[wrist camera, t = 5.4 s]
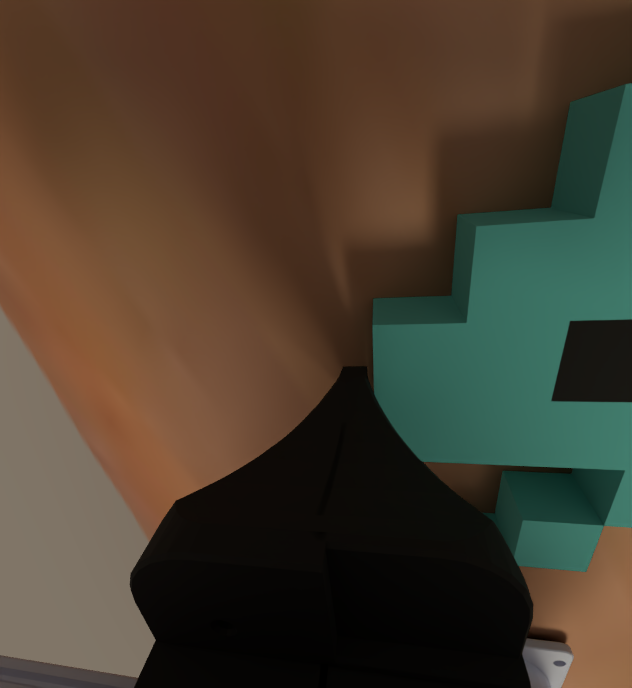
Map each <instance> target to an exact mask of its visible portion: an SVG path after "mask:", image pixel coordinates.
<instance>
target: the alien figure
mask: <svg viewBox="0 0 632 688" xmlns="http://www.w3.org/2000/svg"><path fill="white" fill-rule="evenodd" d="M372 327H373V369H374V395H375V397H376V399H377V401H378V403H379V405H380V406H381V408H382V410H383V412H384V413H385V415H386V417H387V418H388V420H389V421H390V423H391V424H392V426H393V427H394V429H395V430H396V431H397V433H398V434H399V435H400V437H401V438H402V439H403V441H404V442H405V443H406V444H407V446H408V447H409V448H410V449H411V450H412V451H413V452H414V454H415V455H416V456H417V457H418V458H419V459H420V460H421V461H422V462H441V463H465V464H488V465H511V466H534V467H558V468H573V470H572V473H571V474H565V473H543V472H522V471H502V477H501V482H500V488H499V493H498V499H497V504H496V509H495V513H483V514H484V515H486V516H487V517H488V518H490V519H491V520H492V521H494V522H495V524H496V526H497V527H498V529H499V531H500V532H501V534H502V536H503V538H504V539H505V541H506V543H507V545H508V547H509V548H510V550H511V552H512V554H513V556H514V558H515V560H516V562H517V564H518V566H525V567H537V568H548V569H559V570H570V571H582V572H586V571H587V568H588V566H589V563H590V561H591V558H592V556H593V553H594V550H595V548H596V545H597V543H598V540H599V537H600V535H601V532H602V530H603V527H604V526H615V527H629V528H632V83H630V84H625V85H621V86H618V87H615V88H612V89H609V90H606V91H603V92H600V93H597V94H594V95H591V96H588V97H584V98H581V99H578V100H575V101H572V102H570V107H569V112H568V118H567V123H566V128H565V134H564V139H563V145H562V150H561V156H560V161H559V167H558V172H557V177H556V183H555V188H554V194H553V199H552V205H551V208H539V209H525V210H512V211H498V212H484V213H471V214H458V215H457V228H456V241H455V254H454V267H453V279H452V292H451V296H425V297H398V298H373V324H372Z"/></svg>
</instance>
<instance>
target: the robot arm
mask: <svg viewBox="0 0 632 688" xmlns="http://www.w3.org/2000/svg"><path fill="white" fill-rule="evenodd" d="M130 588H131V592H132V594H133V597H134V600H135V603H136V604H137V606H138V608H139V610H140V612H141V614H142V615H143V617H144V619H145V621H146V623H147V625H148V627H149V628H150V630H151V632H152V634H153V636H154V637H155V639H156V641H155V643H154V645H153V648H152V650H151V652H150V654H149V657H148V658H147V660H146V663H145V665H144V667H143V669H142V671H141V673H140V675H139V678H135V677H129V676H123V675H117V674H111V673H104V672H99V671H93V670H87V669H80V668H74V667H68V666H62V665H56V664H50V663H44V662H37V661H32V660H25V659H19V658H13V657H7V656H1V655H0V688H561V687H562V684H563V682H564V679H565V677H566V675H567V672H568V670H569V668H570V665H571V663H572V661H573V653H572V651H571V648H570V647H569V646H568V645H567V644H565V643H561V642H554V641H545V640H537V639H529V638H527V636H528V632H529V629H530V626H531V622H532V619H533V602H532V599H531V597H530V593H529V590H528V587H527V584H526V582H525V579H524V577H523V575H522V573H521V571H520V569H519V566H518V564H517V562H516V560H515V558H514V556H513V554H512V552H511V550H510V548H509V547H508V545H507V543H506V541H505V539H504V538H503V536H502V534H501V532H500V531H499V529H498V527H497V526H496V524H495V522H494V521H492V520H491V519H490V518H488V517H487V516H486V515H484V514H483V513H482V512H480V511H479V510H478V509H476V508H475V507H474V506H472V505H471V504H469V503H468V502H467V501H465V500H464V499H463V498H461V497H460V496H459V495H457V494H456V493H455V492H454V491H453V490H451V489H450V488H449V487H448V486H447V485H446V484H445V483H443V482H442V481H441V480H440V479H439V478H438V477H437V476H436V475H435V474H434V473H433V472H432V471H431V470H430V469H429V468H428V467H427V466H426V465H425V464H424V463H423V462H422V461H421V460H420V459H419V458H418V457H417V456H416V455H415V454H414V452H413V451H412V450H411V449H410V448H409V447H408V446H407V444H406V443H405V442H404V441H403V439H402V438H401V437H400V435H399V434H398V433H397V431H396V430H395V429H394V427H393V426H392V424H391V423H390V421H389V420H388V418H387V417H386V415H385V413H384V412H383V410H382V408H381V406H380V405H379V403H378V401H377V399H376V397H375V395H374V393H373V390H372V388H371V385H370V383H369V380H368V376H367V366H348V367H343V368H342V370H341V373H340V376H339V378H338V379H337V381H336V382H335V383H334V385H333V386H332V388H331V389H330V390H329V391H328V393H327V394H326V395H325V396H324V398H323V399H322V400H321V401H320V403H319V404H318V405H317V406H316V407H315V408H314V409H313V410H312V411H311V413H310V414H309V415H308V416H307V417H306V418H305V419H304V420H303V421H302V422H301V423H300V424H299V425H298V426H297V427H296V428H295V429H294V430H293V431H291V432H290V433H289V434H288V435H287V436H286V437H284V438H283V439H282V440H281V441H279V442H278V443H277V444H275V445H274V446H273V447H271V448H270V449H268V450H267V451H266V452H264V453H263V454H261V455H260V456H259V457H257V458H256V459H254V460H253V461H251V462H249V463H248V464H246V465H245V466H243V467H241V468H240V469H238V470H236V471H234V472H233V473H231V474H229V475H227V476H226V477H224V478H222V479H220V480H218V481H216V482H214V483H212V484H210V485H208V486H206V487H204V488H202V489H200V490H198V491H196V492H194V493H192V494H189V495H187V496H185V497H183V498H181V499H179V500H176V501H175V503H174V504H173V506H172V507H171V509H170V510H169V511H168V513H167V514H166V516H165V517H164V519H163V520H162V522H161V523H160V525H159V527H158V528H157V530H156V532H155V534H154V535H153V537H152V539H151V540H150V542H149V544H148V545H147V547H146V549H145V550H144V552H143V554H142V556H141V557H140V559H139V560H138V562H137V564H136V566H135V567H134V569H133V571H132V572H131V577H130Z"/></svg>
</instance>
